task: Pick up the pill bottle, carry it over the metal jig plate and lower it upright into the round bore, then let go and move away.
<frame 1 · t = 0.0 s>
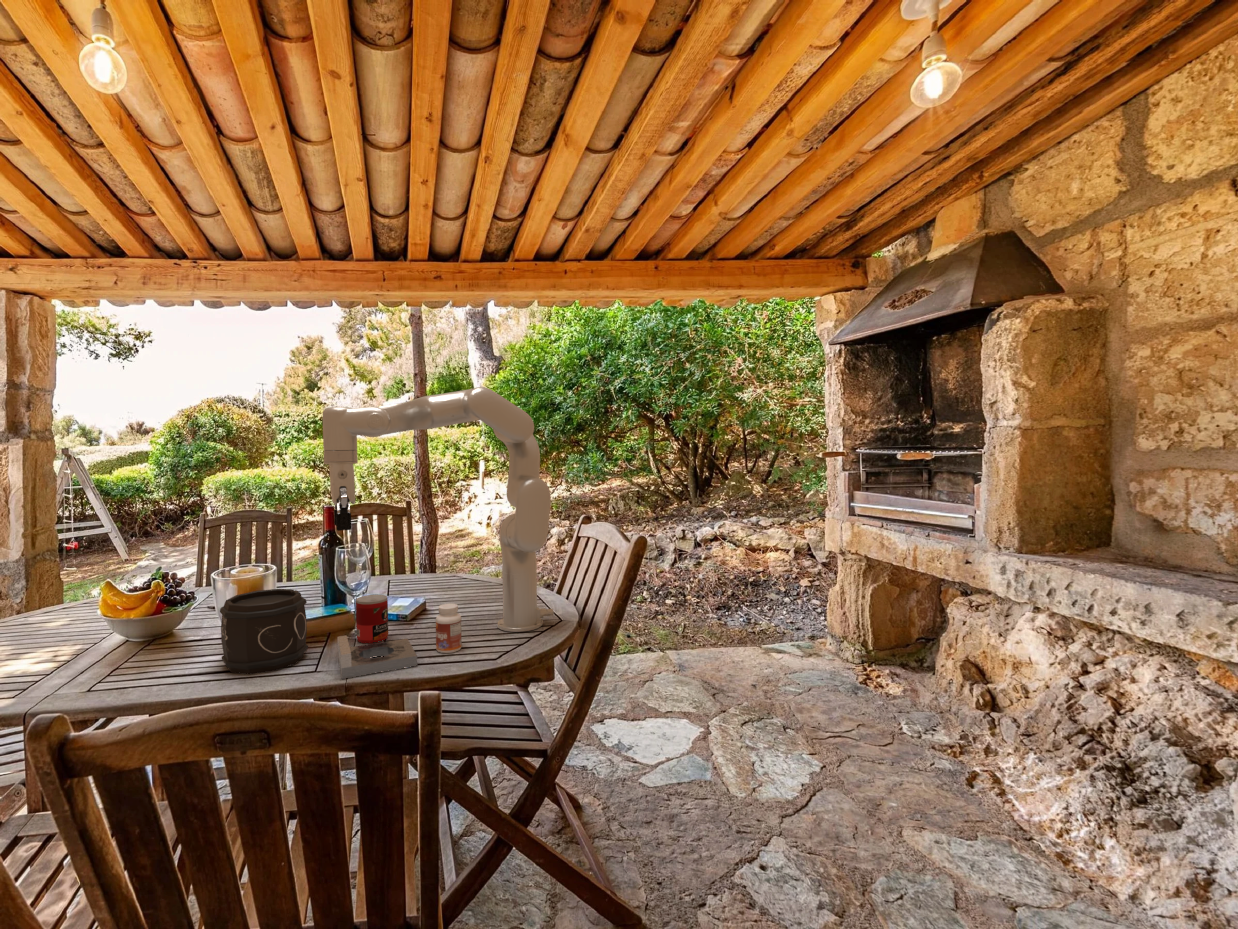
hand: (342, 527, 150), 31 cm above the table, tool pointing down, fingers open, 9 cm apart
jig: (377, 662, 144), on the table
canned food: (372, 639, 162), on the table
chalk-marked storage tub: (267, 662, 146), on the table
pill bottle: (449, 650, 153), on the table
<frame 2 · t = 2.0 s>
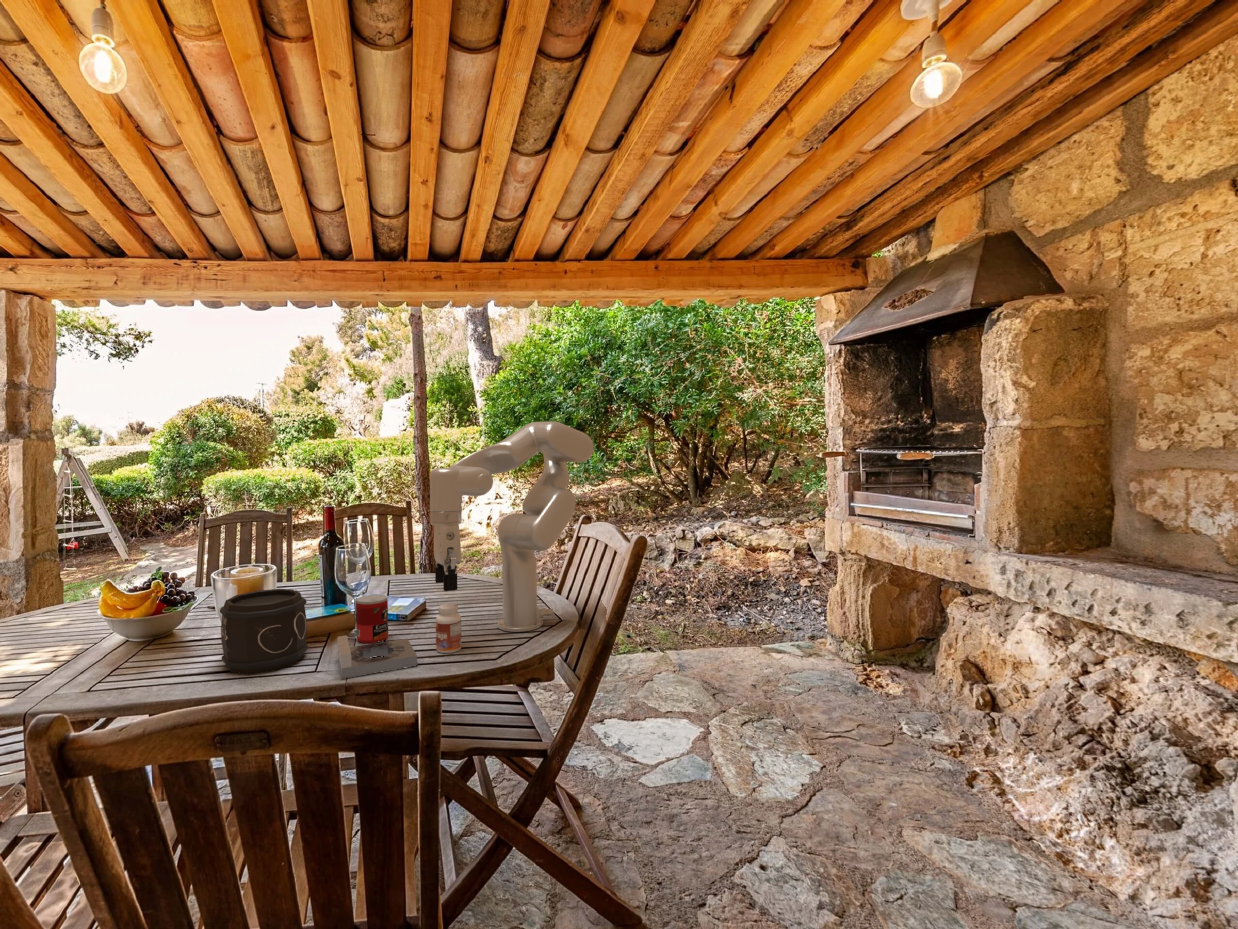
hand: (446, 586, 152), 16 cm above the table, tool pointing down, fingers open, 9 cm apart
nothing on the table moved.
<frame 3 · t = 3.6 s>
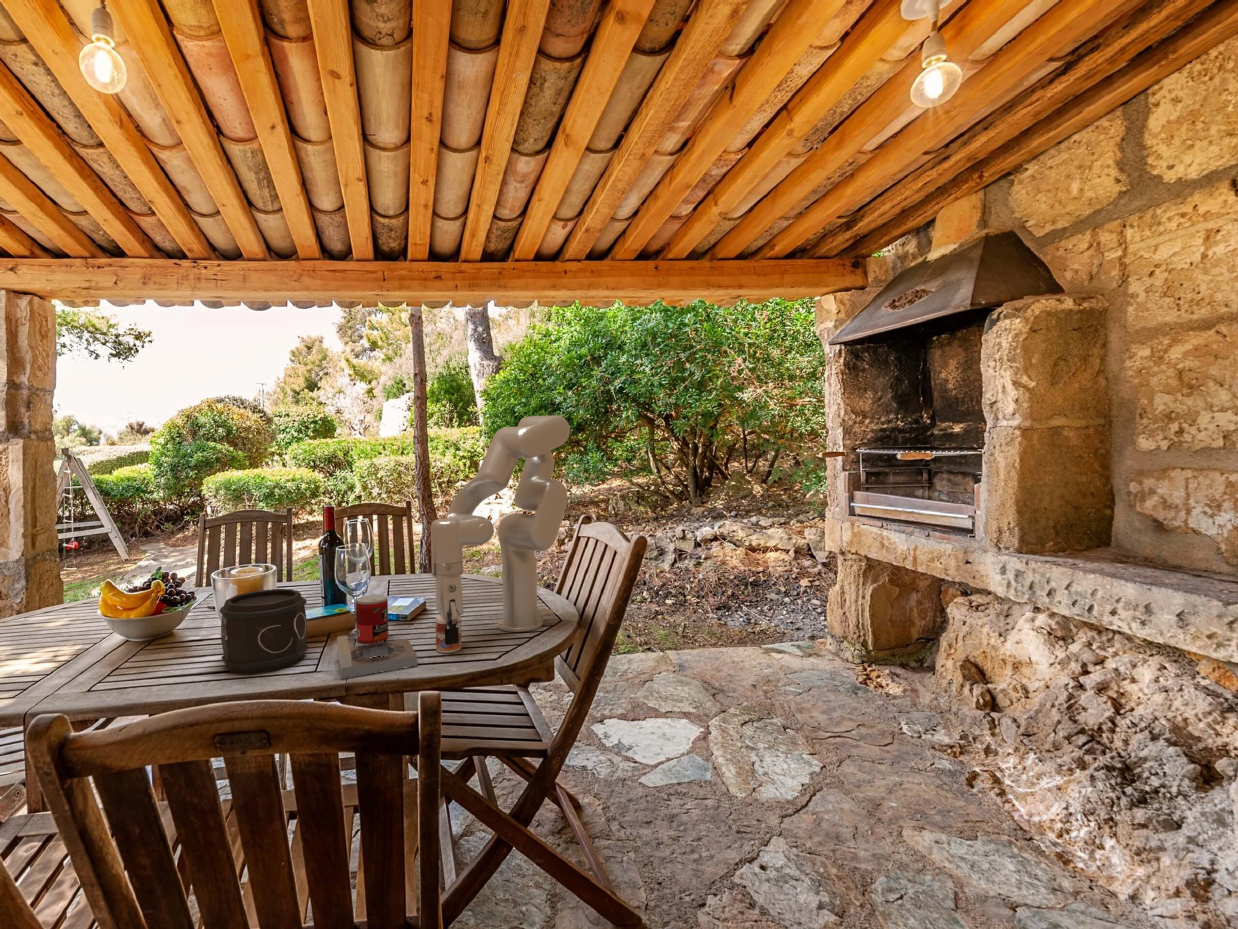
hand: (448, 639, 153), 3 cm above the table, tool pointing down, fingers closed on pill bottle, 6 cm apart
pill bottle: (449, 650, 153), on the table, touching gripper
everything else where it was.
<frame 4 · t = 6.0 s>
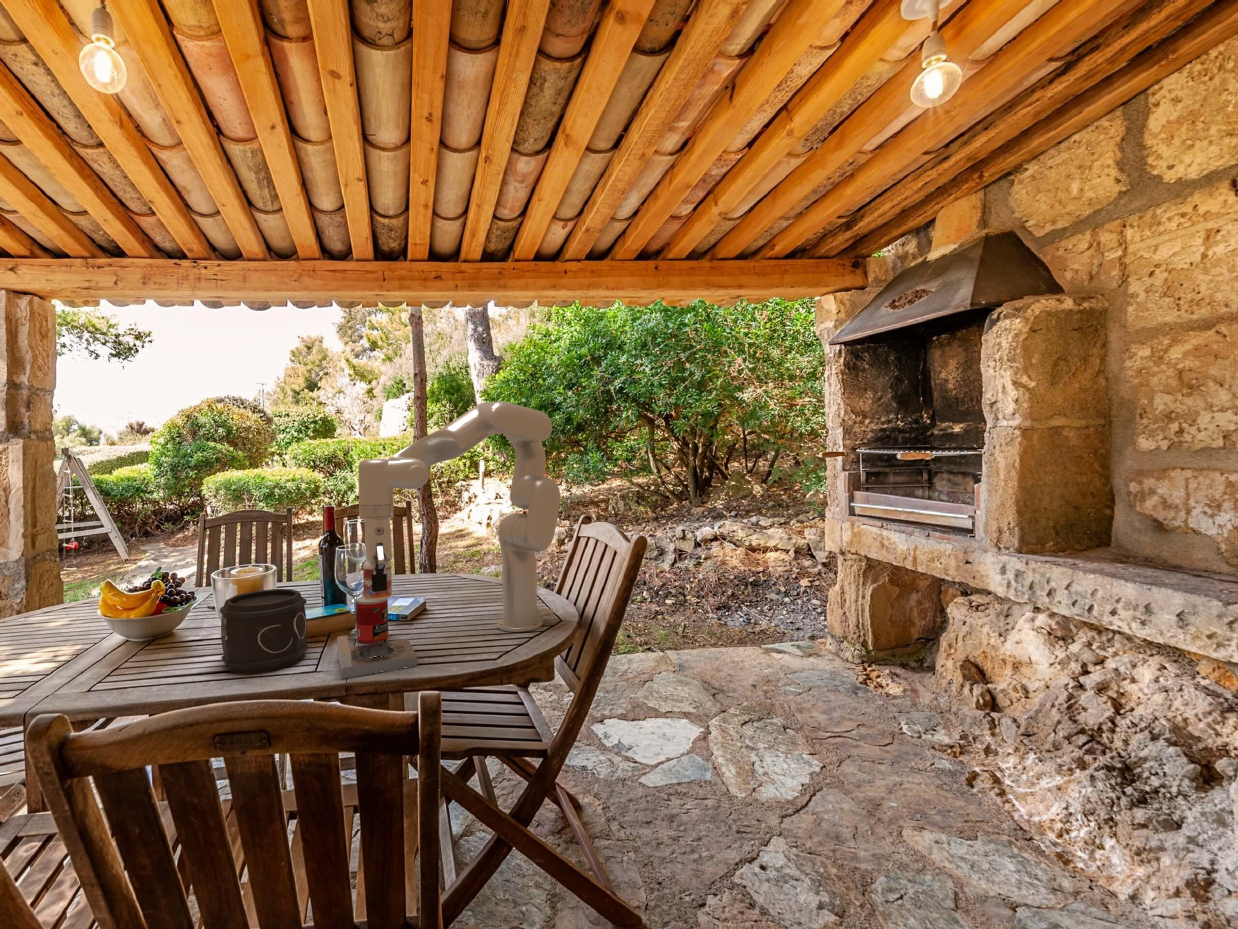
hand: (377, 587, 144), 18 cm above the table, tool pointing down, fingers closed on pill bottle, 6 cm apart
pill bottle: (377, 598, 144), point 15 cm above the table, touching gripper
everything else where it was.
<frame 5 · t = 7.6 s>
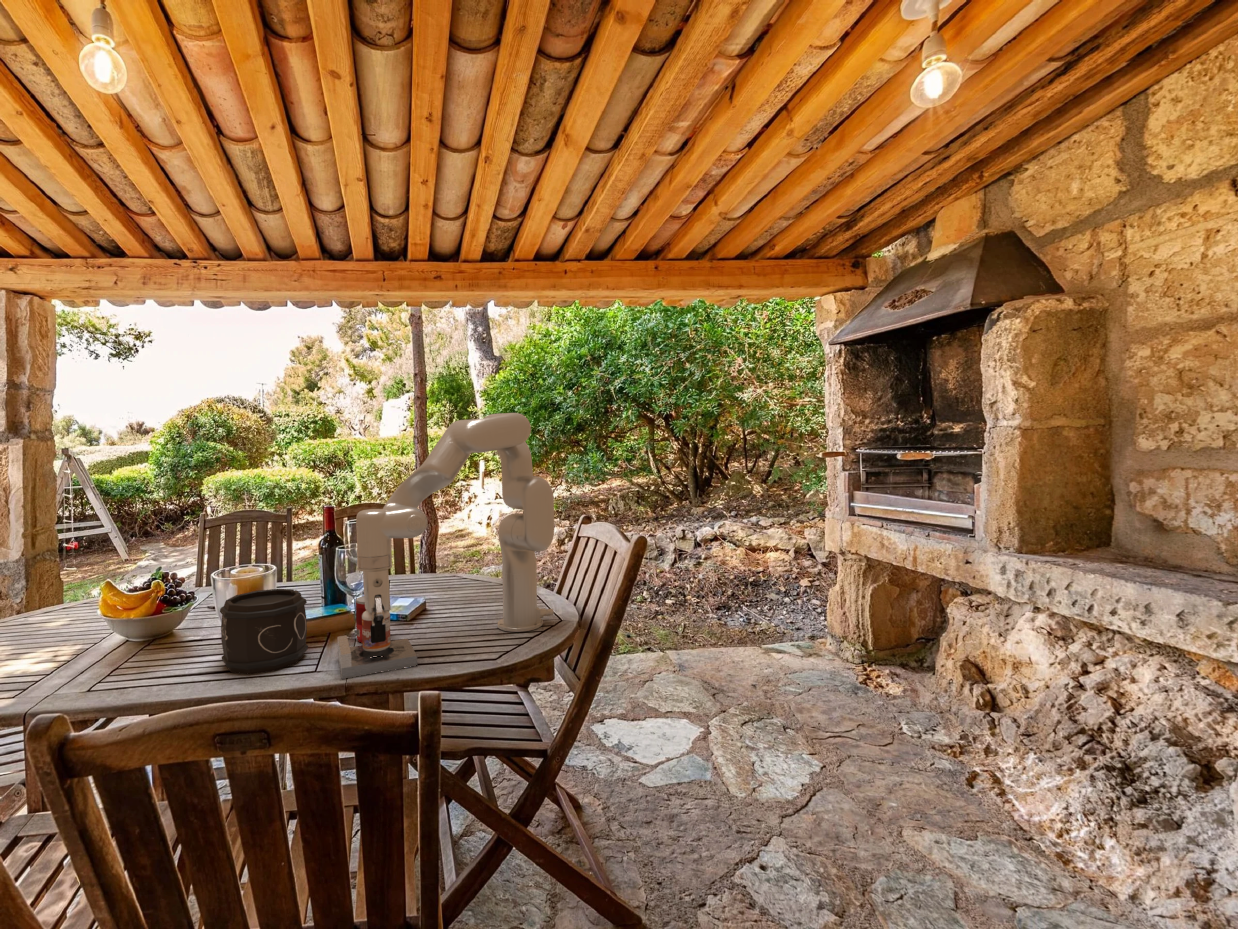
hand: (376, 636, 144), 6 cm above the table, tool pointing down, fingers closed on pill bottle, 6 cm apart
pill bottle: (376, 648, 144), point 3 cm above the table, touching gripper
everything else where it was.
when the fingers open (3 cm above the table, at t = 8.6 s): pill bottle stays where it is, resting in jig.
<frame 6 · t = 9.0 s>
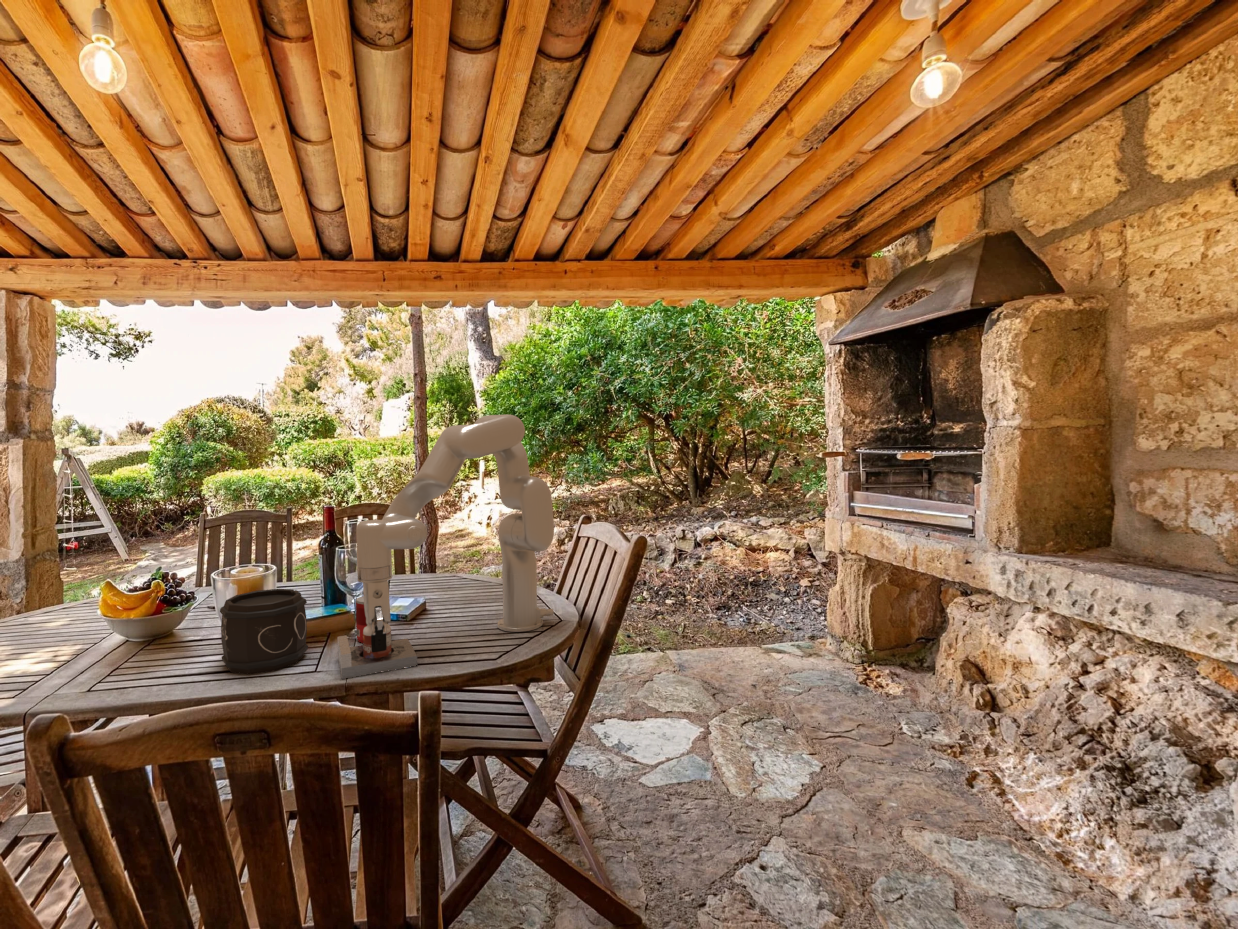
hand: (376, 644, 144), 4 cm above the table, tool pointing down, fingers open, 9 cm apart
pill bottle: (377, 663, 145), resting in jig
everything else where it was.
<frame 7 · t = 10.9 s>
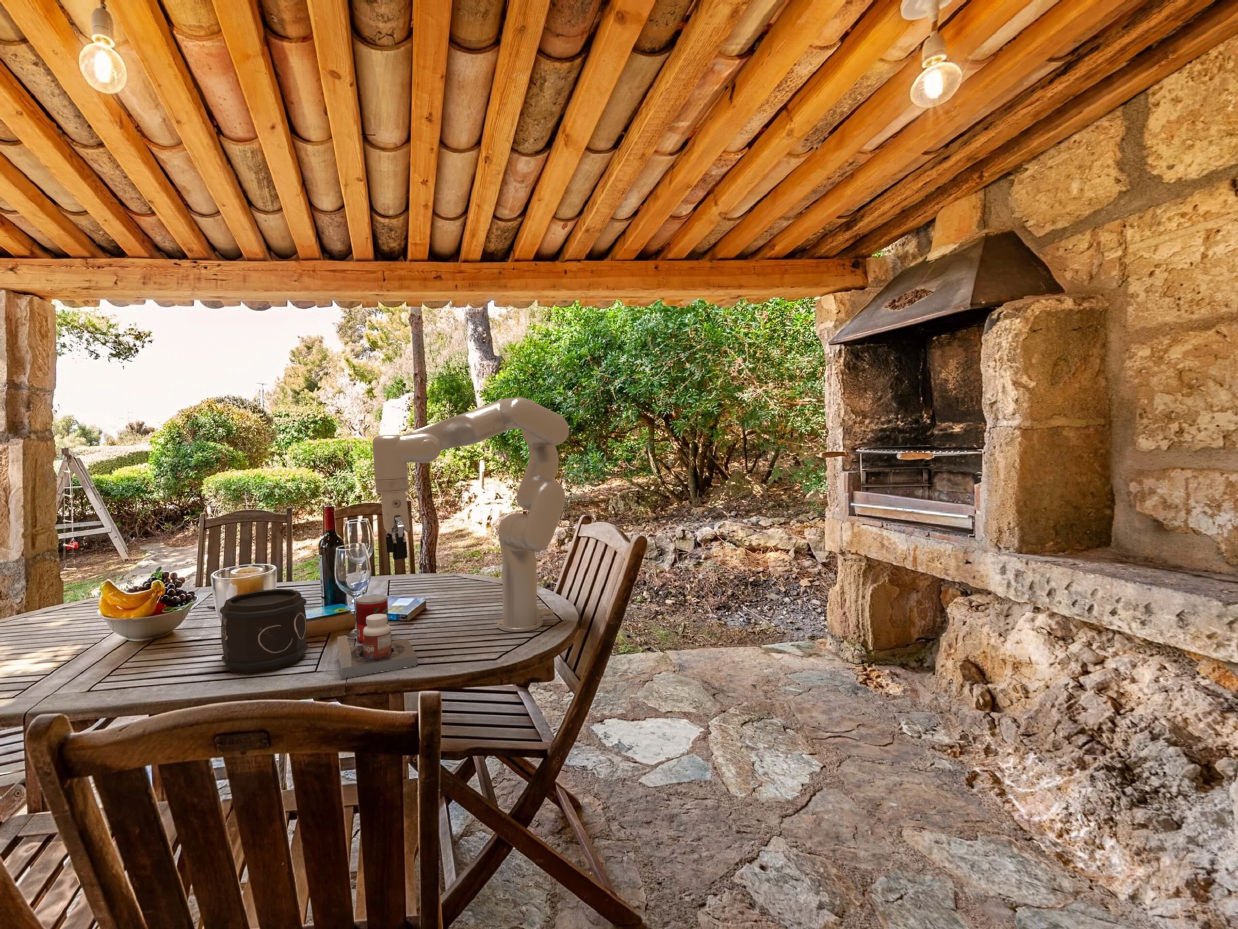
hand: (397, 555, 150), 24 cm above the table, tool pointing down, fingers open, 9 cm apart
nothing on the table moved.
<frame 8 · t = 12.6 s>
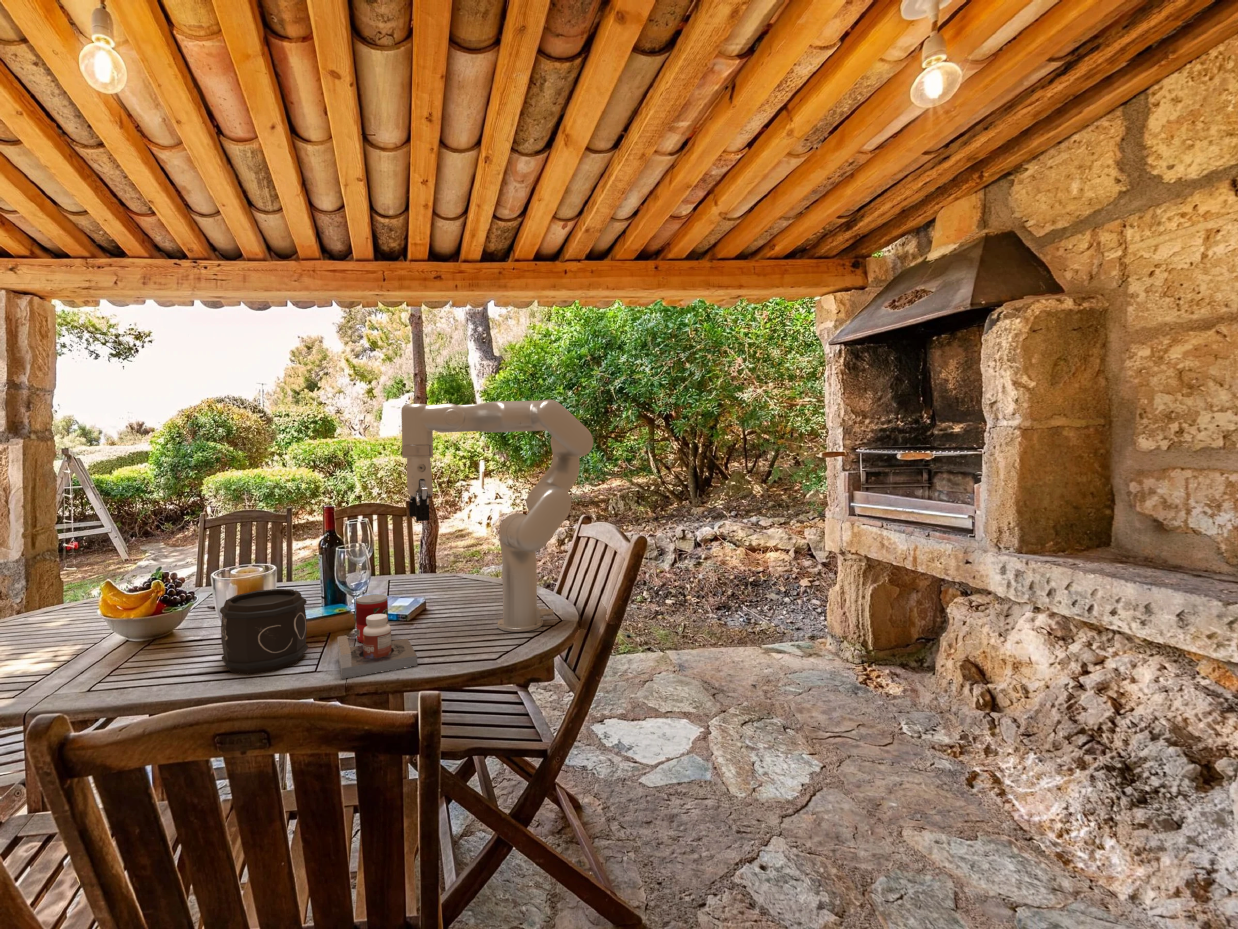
hand: (419, 518, 157), 32 cm above the table, tool pointing down, fingers open, 9 cm apart
nothing on the table moved.
at the end: pill bottle 0.2 cm from the jig (horizontally); pill bottle resting in jig; pill bottle tilted 0° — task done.
